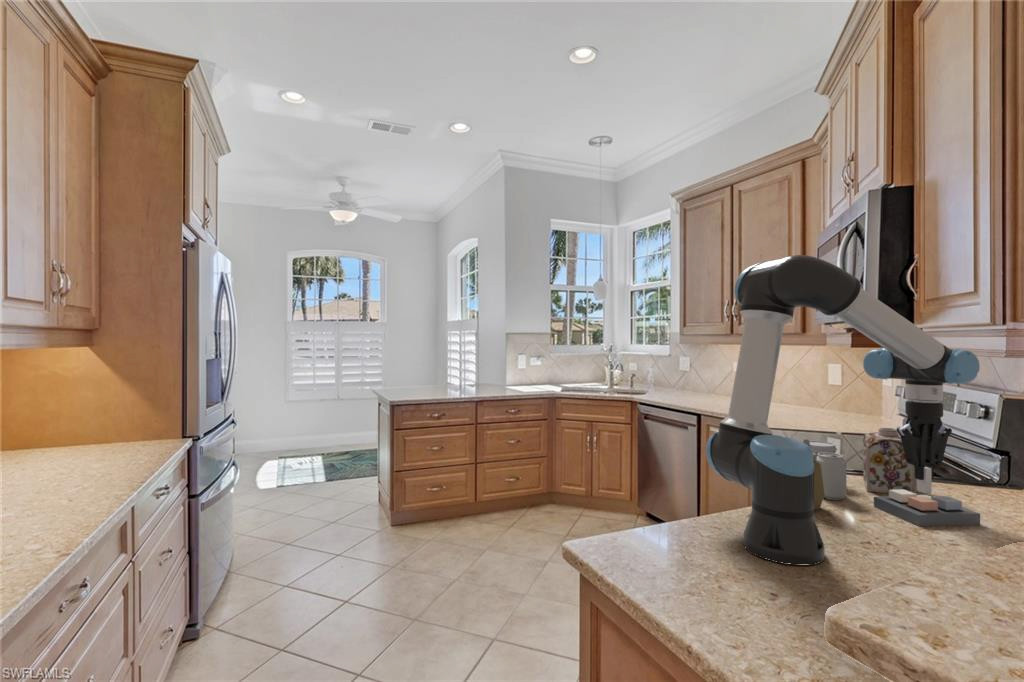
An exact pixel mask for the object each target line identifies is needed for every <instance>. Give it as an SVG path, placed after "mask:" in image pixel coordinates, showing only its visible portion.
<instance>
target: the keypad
mask: <svg viewBox="0 0 1024 682" xmlns="http://www.w3.org/2000/svg"><path fill="white" fill-rule="evenodd" d="M927 495H928V496H930V494H927ZM873 507H874V508H877V509H879V510H881V511H883V512H885V513H888V514H891V515H892V516H894V517H896V518H897V517H898V518H900V519H901V520H904V521H906V522H909V523H911V524H913V525H916V526H918V527H935V526H936V527H940V526H941V527H942V526H943V527H944V526H976V525H977V526H980V525H981V513H979V512H977V511H973V510H971V509H968V508H965V507H963V506H962V509H961V510H952V512H944V511H942V510H941V508H940V507H938V510H928V513H921V512H919V511H918V509H917V508H914V507H912V506H909V505H908V504H899V503H898V501H897V500H894V499H892V498H889V495H888V496H887V495H886V496H883V495H882V496H873Z"/></svg>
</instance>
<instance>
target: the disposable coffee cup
mask: <svg viewBox="0 0 1024 682" xmlns="http://www.w3.org/2000/svg"><path fill="white" fill-rule="evenodd" d="M809 442H810V446H811V450H812V452H813V453H816V454H817V456H818V453H821V452H828V453H836V452H837V450H838V448H837V447H836V444H835V443H833V442H829V441H821V440H809Z"/></svg>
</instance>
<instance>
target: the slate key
mask: <svg viewBox="0 0 1024 682" xmlns="http://www.w3.org/2000/svg"><path fill="white" fill-rule="evenodd" d="M930 496H931V499H932V500H934V501H937V502H938V507H940V508H941V510H942V511H944V512H952V510H961V509H962V507H963V501H962V500H960V499H957V498H954V497H951V496H948V495H941V496H939V495H936V496H934V495H933V496H932V495H930Z"/></svg>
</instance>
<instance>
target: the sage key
mask: <svg viewBox="0 0 1024 682" xmlns="http://www.w3.org/2000/svg"><path fill="white" fill-rule="evenodd" d="M928 495H929V494H917V497H926V498H929V499H931V496H932V495H929V496H928Z"/></svg>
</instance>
